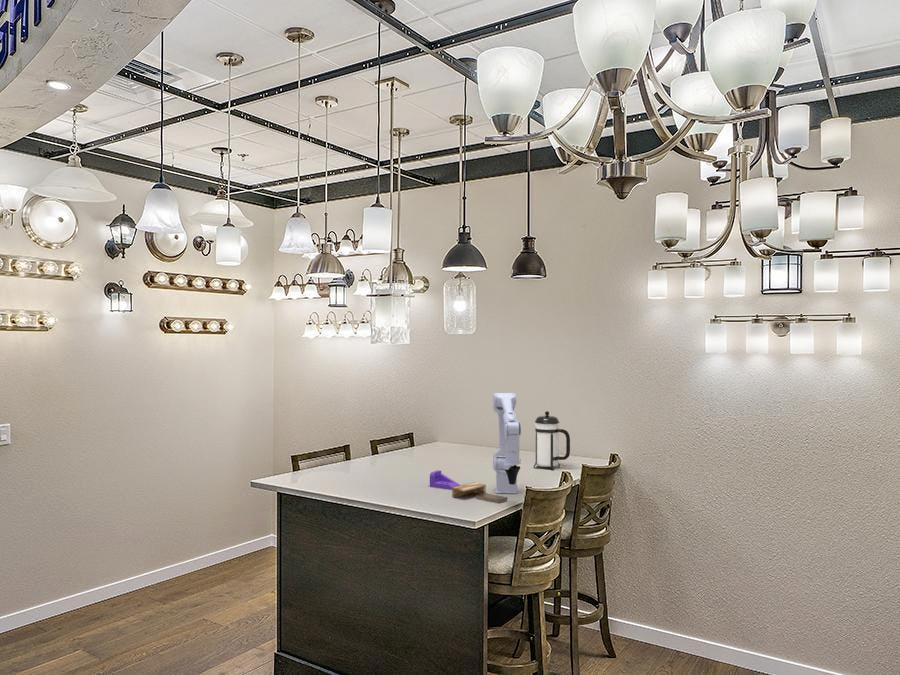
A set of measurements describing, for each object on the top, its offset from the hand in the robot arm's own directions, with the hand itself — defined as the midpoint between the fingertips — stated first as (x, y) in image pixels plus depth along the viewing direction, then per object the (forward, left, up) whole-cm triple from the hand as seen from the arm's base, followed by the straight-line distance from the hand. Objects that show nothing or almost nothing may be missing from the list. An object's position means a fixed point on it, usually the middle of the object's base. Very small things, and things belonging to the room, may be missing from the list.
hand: (512, 484), depth 272 cm
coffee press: (-22, -80, -9) cm, 83 cm away
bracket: (+30, -30, -9) cm, 43 cm away
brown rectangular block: (+18, -13, -8) cm, 24 cm away
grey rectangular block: (+8, -7, -9) cm, 14 cm away
